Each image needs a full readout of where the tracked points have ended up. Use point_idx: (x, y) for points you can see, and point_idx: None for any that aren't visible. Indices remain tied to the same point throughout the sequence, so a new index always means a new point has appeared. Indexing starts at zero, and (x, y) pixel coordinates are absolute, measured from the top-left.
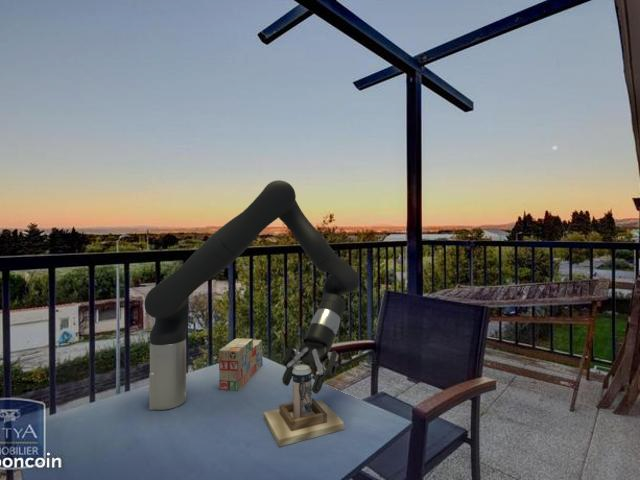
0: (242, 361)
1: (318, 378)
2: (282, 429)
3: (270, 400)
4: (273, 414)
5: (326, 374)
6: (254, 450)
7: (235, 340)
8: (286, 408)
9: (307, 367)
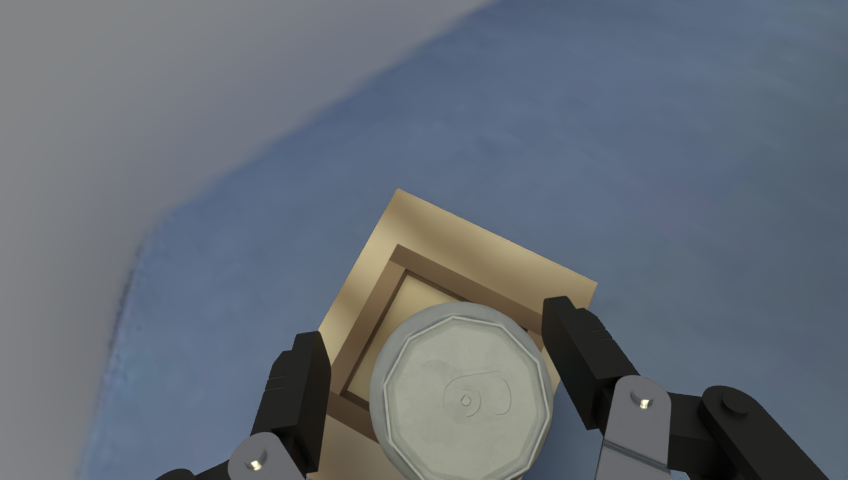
0: None
1: (278, 406)
2: (436, 240)
3: None
4: (551, 296)
5: (205, 476)
6: (448, 140)
7: None
8: None
9: (424, 446)
